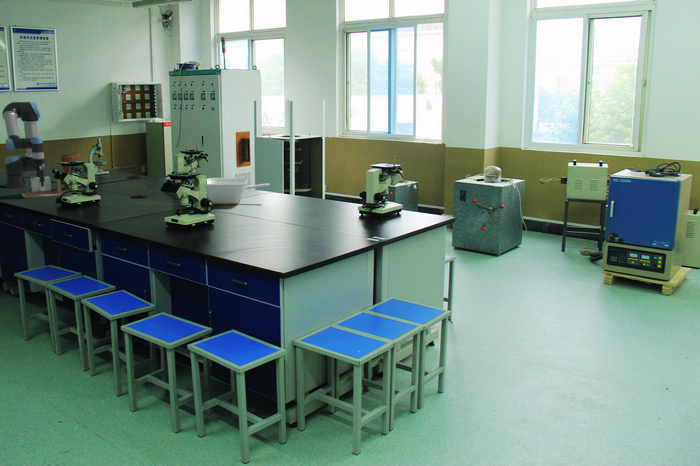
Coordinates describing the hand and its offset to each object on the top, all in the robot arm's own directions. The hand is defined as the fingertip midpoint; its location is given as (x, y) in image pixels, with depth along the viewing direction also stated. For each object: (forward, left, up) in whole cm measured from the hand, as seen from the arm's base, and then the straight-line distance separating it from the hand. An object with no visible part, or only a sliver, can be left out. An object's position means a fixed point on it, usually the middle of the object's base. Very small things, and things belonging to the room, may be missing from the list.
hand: (41, 189), depth 426 cm
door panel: (0, 0, -3) cm, 3 cm away
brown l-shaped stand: (-1, 0, -4) cm, 4 cm away
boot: (-22, +30, -4) cm, 37 cm away
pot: (+95, +107, -4) cm, 143 cm away
